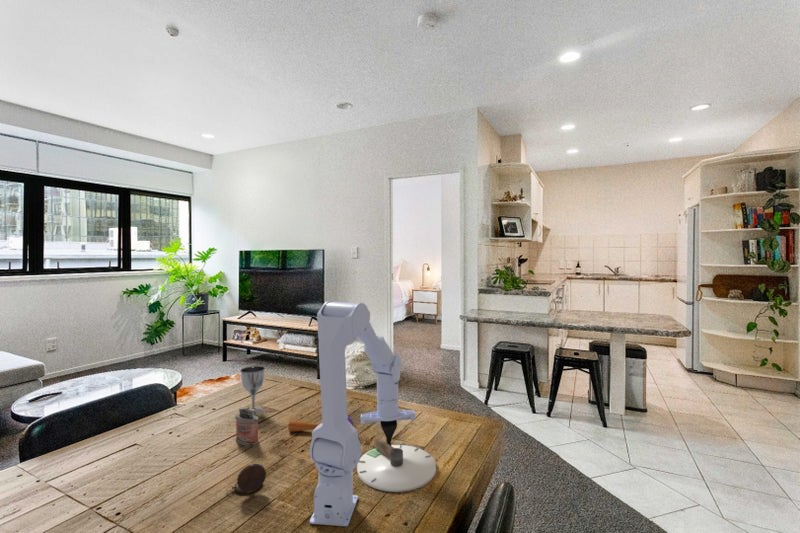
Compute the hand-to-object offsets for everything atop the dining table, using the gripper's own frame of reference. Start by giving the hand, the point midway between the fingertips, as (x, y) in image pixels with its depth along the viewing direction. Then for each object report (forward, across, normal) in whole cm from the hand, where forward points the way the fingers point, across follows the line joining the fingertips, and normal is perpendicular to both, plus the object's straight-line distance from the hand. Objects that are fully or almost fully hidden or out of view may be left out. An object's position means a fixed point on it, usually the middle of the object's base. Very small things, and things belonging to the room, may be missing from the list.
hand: (388, 447), depth 103 cm
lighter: (+2, +40, -14) cm, 42 cm away
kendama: (+3, +19, -17) cm, 25 cm away
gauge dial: (+2, -1, +6) cm, 6 cm away
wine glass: (+3, +43, -37) cm, 57 cm away
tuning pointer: (+1, 0, +3) cm, 3 cm away
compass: (+2, +35, +10) cm, 36 cm away
